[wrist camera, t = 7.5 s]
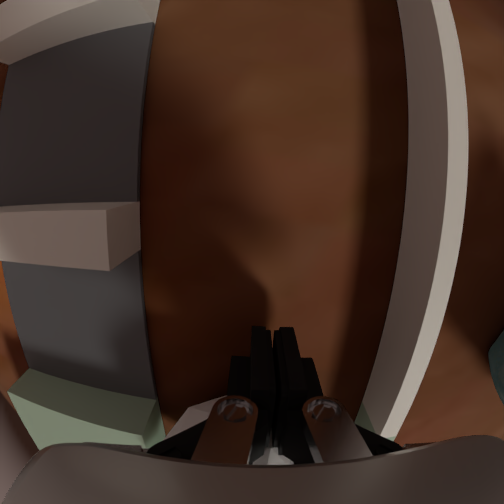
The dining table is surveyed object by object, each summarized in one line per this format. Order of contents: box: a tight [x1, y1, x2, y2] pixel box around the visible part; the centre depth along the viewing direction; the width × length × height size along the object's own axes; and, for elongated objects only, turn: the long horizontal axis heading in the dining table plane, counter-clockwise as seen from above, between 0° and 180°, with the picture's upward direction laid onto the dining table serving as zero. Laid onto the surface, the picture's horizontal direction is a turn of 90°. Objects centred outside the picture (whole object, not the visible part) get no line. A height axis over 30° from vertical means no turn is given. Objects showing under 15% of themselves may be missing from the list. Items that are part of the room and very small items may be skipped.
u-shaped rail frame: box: [0, 0, 468, 450], centre depth 11 cm, size 28×21×3 cm
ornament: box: [164, 395, 290, 465], centre depth 11 cm, size 7×7×8 cm
